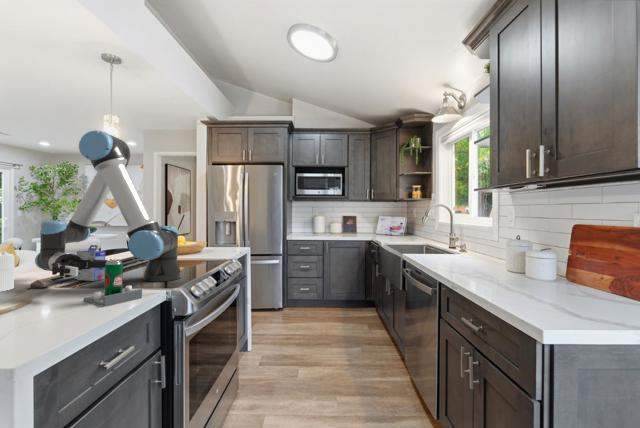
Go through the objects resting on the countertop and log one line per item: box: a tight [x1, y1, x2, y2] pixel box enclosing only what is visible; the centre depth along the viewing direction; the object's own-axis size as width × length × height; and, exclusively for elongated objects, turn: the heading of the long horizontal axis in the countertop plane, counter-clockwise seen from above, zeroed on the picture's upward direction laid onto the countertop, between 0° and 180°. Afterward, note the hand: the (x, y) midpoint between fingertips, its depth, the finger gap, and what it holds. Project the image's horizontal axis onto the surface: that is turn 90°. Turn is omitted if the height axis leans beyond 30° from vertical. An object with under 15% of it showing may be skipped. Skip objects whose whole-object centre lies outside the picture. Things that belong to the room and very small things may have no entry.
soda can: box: [103, 259, 124, 296], centre depth 107 cm, size 5×5×12 cm
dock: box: [83, 285, 143, 307], centre depth 107 cm, size 12×12×4 cm
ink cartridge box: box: [74, 244, 106, 282], centre depth 137 cm, size 10×6×14 cm, turn 78°
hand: (98, 269), depth 111 cm, fingers open, 13 cm apart
